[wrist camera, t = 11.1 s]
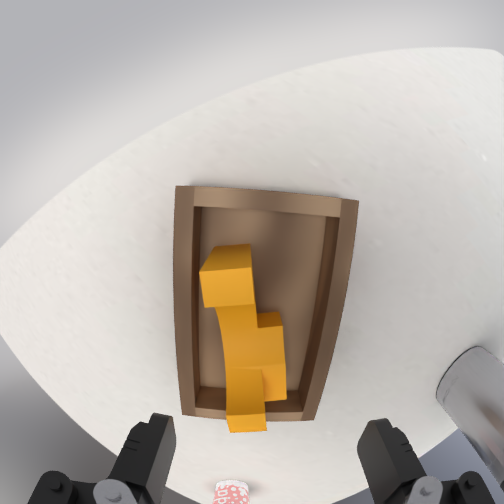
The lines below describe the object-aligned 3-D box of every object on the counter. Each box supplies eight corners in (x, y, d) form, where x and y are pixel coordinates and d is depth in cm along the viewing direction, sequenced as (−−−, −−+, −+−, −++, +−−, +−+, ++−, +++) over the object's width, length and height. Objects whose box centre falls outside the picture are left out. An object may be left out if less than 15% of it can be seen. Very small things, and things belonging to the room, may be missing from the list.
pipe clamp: (282, 375, 22) (291, 428, 16) (233, 379, 22) (229, 432, 16) (274, 240, 20) (287, 264, 13) (214, 246, 20) (199, 272, 13)
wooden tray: (340, 199, 20) (358, 200, 16) (306, 395, 24) (313, 420, 20) (188, 186, 19) (175, 185, 16) (189, 389, 23) (182, 414, 20)
